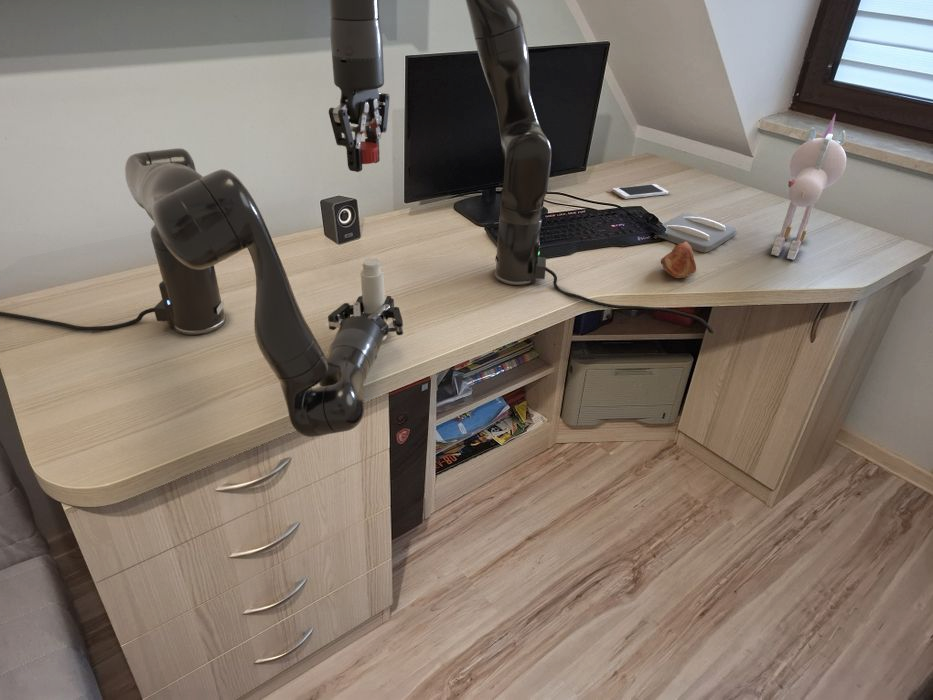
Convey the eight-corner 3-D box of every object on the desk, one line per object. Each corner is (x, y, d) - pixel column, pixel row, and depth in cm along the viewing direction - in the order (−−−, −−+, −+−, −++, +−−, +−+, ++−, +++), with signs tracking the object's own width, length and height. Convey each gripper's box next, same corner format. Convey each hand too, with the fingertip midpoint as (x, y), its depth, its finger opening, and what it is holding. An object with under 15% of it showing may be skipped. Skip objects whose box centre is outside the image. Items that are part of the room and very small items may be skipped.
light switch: (708, 241, 156) (653, 223, 165) (705, 253, 158) (650, 234, 167) (740, 223, 167) (687, 206, 176) (737, 234, 169) (684, 217, 178)
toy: (826, 222, 178) (867, 110, 161) (806, 269, 152) (852, 142, 135) (779, 212, 183) (814, 103, 167) (751, 256, 157) (789, 132, 141)
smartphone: (611, 191, 194) (612, 187, 193) (654, 186, 199) (655, 183, 198) (624, 199, 188) (625, 196, 188) (668, 194, 193) (668, 191, 193)
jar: (365, 343, 120) (359, 267, 111) (365, 331, 123) (359, 257, 114) (387, 341, 120) (383, 266, 112) (386, 330, 124) (382, 256, 115)
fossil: (669, 273, 140) (675, 228, 140) (641, 275, 147) (646, 232, 147) (707, 283, 147) (712, 240, 147) (678, 285, 154) (683, 244, 154)
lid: (363, 153, 106) (362, 139, 105) (385, 159, 104) (384, 145, 102) (342, 160, 103) (341, 145, 101) (364, 166, 100) (363, 151, 99)
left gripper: (396, 332, 104) (414, 284, 118) (310, 325, 105) (338, 278, 119) (397, 370, 108) (414, 318, 122) (315, 363, 109) (342, 313, 123)
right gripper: (362, 43, 101) (368, 151, 110) (307, 56, 90) (319, 175, 100) (403, 48, 98) (406, 158, 108) (351, 61, 88) (359, 183, 97)
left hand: (377, 299), depth 120 cm, fingers closed on jar, 4 cm apart
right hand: (364, 165), depth 104 cm, fingers closed on lid, 4 cm apart
